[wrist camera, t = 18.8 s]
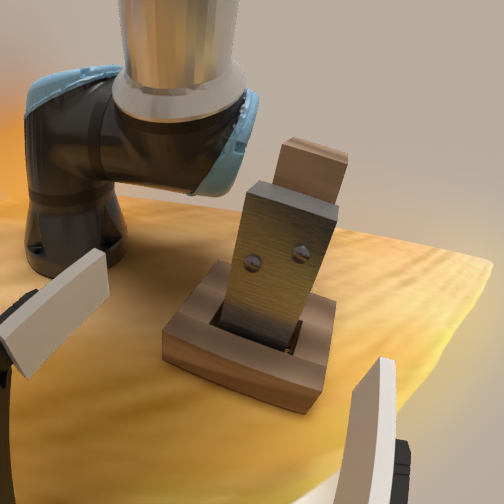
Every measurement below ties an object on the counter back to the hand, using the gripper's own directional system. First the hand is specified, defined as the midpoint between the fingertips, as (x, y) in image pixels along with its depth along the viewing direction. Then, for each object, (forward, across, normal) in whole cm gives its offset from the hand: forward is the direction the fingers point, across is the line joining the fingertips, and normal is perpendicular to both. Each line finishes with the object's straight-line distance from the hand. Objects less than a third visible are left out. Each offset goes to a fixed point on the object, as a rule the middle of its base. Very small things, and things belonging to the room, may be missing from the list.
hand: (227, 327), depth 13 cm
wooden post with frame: (+14, +1, -14) cm, 20 cm away
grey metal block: (+10, 0, -14) cm, 17 cm away
